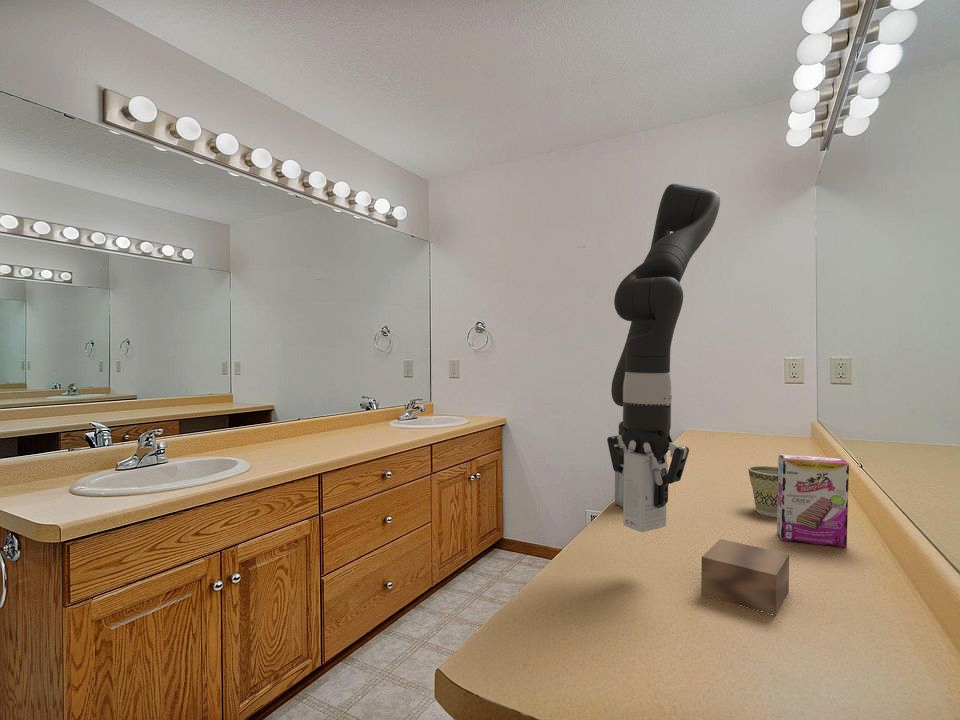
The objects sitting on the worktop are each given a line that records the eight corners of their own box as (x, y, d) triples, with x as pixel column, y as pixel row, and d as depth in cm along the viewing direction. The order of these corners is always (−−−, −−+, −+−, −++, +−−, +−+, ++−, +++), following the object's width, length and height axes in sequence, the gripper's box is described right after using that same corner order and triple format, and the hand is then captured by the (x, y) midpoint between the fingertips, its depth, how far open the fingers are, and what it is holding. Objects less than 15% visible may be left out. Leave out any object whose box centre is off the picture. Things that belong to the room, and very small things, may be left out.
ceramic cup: (750, 517, 115) (750, 472, 115) (745, 505, 125) (746, 464, 124) (818, 524, 110) (818, 478, 110) (808, 511, 120) (808, 468, 120)
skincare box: (643, 533, 81) (644, 457, 81) (621, 525, 85) (622, 452, 84) (667, 526, 84) (669, 453, 84) (645, 518, 88) (646, 448, 88)
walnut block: (701, 595, 78) (701, 556, 78) (719, 574, 86) (720, 538, 86) (775, 617, 71) (776, 575, 71) (788, 592, 79) (789, 554, 79)
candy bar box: (781, 541, 100) (782, 458, 100) (776, 533, 105) (776, 453, 105) (849, 549, 96) (850, 462, 96) (840, 539, 101) (841, 457, 101)
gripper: (596, 397, 87) (595, 497, 87) (676, 405, 76) (675, 519, 77) (621, 395, 92) (620, 489, 92) (700, 402, 81) (698, 508, 81)
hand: (645, 502), depth 84 cm, fingers closed on skincare box, 4 cm apart
